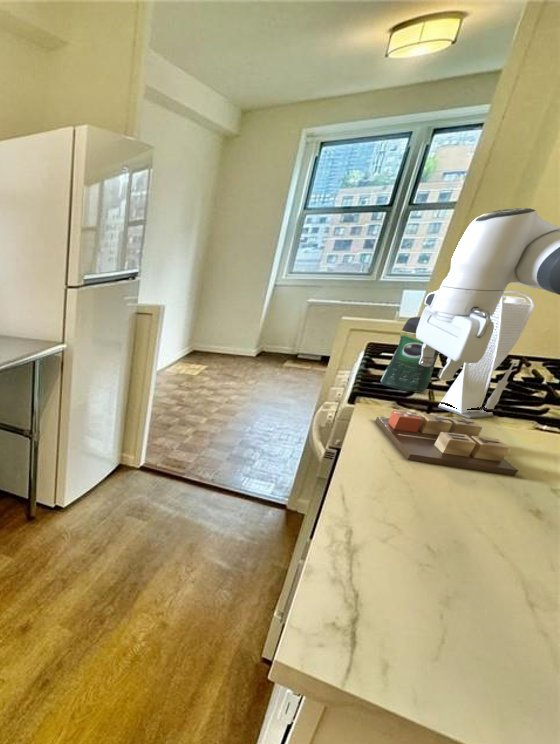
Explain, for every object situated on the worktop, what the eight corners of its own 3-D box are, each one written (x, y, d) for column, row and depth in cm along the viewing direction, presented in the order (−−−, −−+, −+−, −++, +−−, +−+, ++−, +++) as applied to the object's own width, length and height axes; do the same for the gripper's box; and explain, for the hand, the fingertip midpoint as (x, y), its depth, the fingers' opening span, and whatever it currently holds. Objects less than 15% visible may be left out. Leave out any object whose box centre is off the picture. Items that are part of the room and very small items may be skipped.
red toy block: (411, 425, 106) (417, 412, 104) (418, 432, 103) (425, 419, 101) (385, 422, 107) (391, 409, 106) (392, 429, 104) (398, 415, 103)
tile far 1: (490, 452, 94) (498, 438, 93) (501, 461, 91) (509, 447, 90) (464, 449, 96) (472, 435, 94) (474, 457, 93) (482, 443, 91)
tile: (459, 448, 96) (466, 434, 95) (468, 457, 93) (476, 442, 91) (433, 444, 97) (441, 430, 96) (442, 453, 94) (450, 439, 93)
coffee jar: (428, 389, 130) (462, 319, 121) (419, 395, 126) (453, 323, 117) (385, 379, 137) (413, 313, 128) (374, 385, 133) (403, 316, 124)
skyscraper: (464, 418, 112) (530, 294, 99) (428, 405, 119) (485, 288, 107) (492, 415, 114) (560, 293, 101) (455, 403, 121) (514, 287, 108)
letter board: (464, 433, 105) (467, 427, 105) (515, 475, 89) (518, 469, 88) (375, 421, 111) (377, 416, 110) (407, 459, 94) (410, 453, 94)
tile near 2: (439, 429, 104) (446, 416, 103) (448, 436, 101) (455, 423, 99) (414, 425, 106) (421, 412, 104) (422, 433, 102) (429, 419, 101)
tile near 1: (466, 432, 103) (473, 419, 101) (475, 440, 99) (483, 426, 98) (442, 429, 104) (449, 416, 103) (450, 437, 101) (457, 423, 99)
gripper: (517, 314, 83) (478, 390, 89) (461, 295, 100) (432, 360, 106) (469, 312, 85) (435, 386, 92) (423, 293, 102) (397, 357, 108)
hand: (433, 372), depth 99 cm, fingers open, 8 cm apart
